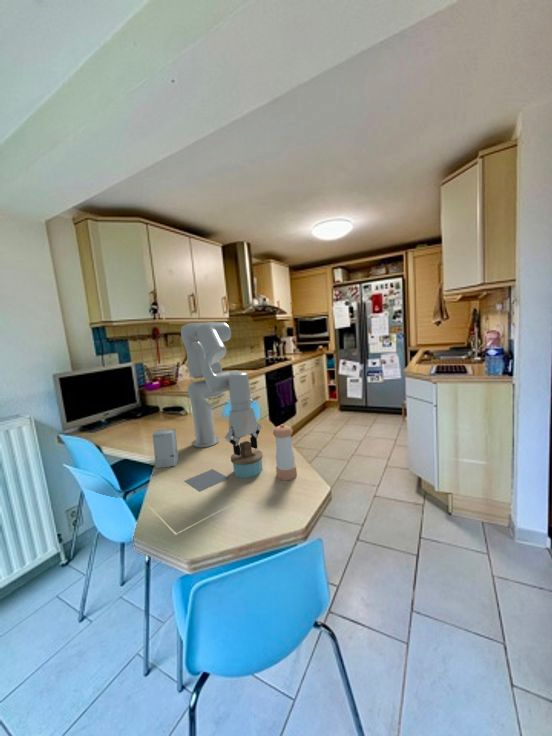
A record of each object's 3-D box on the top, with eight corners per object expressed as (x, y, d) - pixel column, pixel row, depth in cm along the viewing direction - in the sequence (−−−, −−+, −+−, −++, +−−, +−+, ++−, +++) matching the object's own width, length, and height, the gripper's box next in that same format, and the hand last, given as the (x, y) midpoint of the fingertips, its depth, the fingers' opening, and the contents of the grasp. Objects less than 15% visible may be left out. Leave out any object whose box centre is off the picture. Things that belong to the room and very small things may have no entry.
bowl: (228, 472, 117) (227, 459, 116) (250, 463, 124) (249, 450, 123) (245, 481, 109) (243, 466, 108) (268, 470, 116) (266, 456, 115)
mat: (184, 481, 113) (184, 480, 113) (212, 469, 121) (212, 469, 121) (199, 492, 104) (199, 491, 104) (229, 479, 112) (229, 478, 112)
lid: (224, 459, 116) (223, 444, 115) (249, 449, 124) (248, 435, 123) (243, 467, 107) (241, 451, 107) (269, 456, 115) (267, 441, 114)
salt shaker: (273, 474, 112) (268, 424, 110) (291, 469, 115) (287, 420, 113) (281, 482, 106) (276, 429, 103) (300, 476, 109) (295, 424, 106)
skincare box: (155, 468, 127) (150, 434, 125) (160, 462, 133) (156, 429, 131) (176, 466, 127) (171, 432, 125) (180, 460, 133) (175, 427, 131)
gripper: (253, 399, 122) (257, 442, 124) (215, 410, 110) (221, 456, 112) (265, 401, 116) (269, 446, 118) (226, 412, 105) (232, 461, 107)
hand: (246, 450), depth 115 cm, fingers open, 7 cm apart
